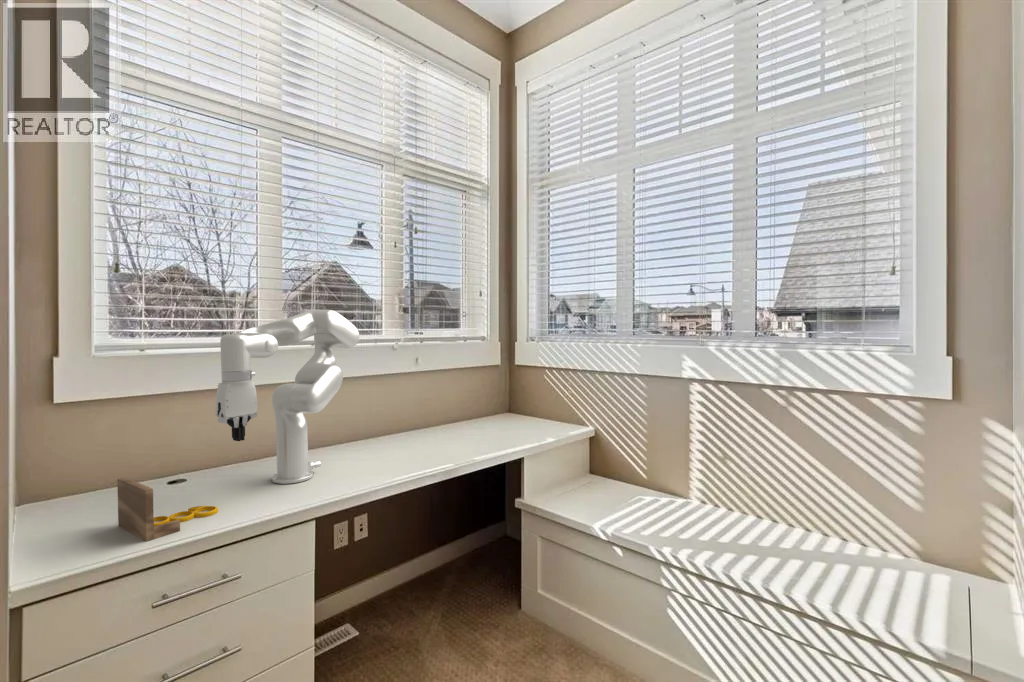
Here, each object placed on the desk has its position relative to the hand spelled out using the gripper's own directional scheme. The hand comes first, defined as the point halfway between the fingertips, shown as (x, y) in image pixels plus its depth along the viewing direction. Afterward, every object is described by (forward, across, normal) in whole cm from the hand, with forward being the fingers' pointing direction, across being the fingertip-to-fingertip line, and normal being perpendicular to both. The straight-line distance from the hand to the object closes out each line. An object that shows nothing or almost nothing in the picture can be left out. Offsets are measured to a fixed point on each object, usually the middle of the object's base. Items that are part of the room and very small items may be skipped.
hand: (238, 440), depth 140 cm
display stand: (+17, +23, +1) cm, 29 cm away
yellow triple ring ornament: (+18, +16, +1) cm, 24 cm away
